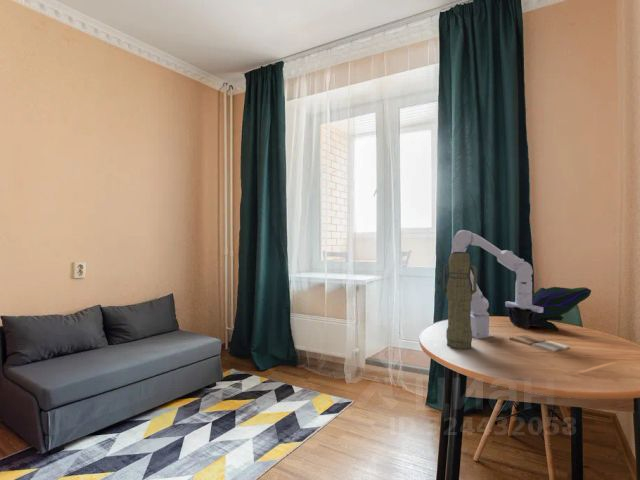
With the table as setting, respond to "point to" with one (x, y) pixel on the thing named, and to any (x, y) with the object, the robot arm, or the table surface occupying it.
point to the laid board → (550, 346)
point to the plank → (526, 339)
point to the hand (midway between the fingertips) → (523, 327)
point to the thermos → (459, 300)
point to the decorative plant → (553, 304)
